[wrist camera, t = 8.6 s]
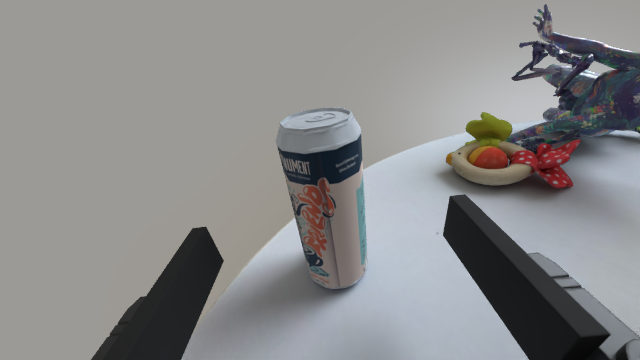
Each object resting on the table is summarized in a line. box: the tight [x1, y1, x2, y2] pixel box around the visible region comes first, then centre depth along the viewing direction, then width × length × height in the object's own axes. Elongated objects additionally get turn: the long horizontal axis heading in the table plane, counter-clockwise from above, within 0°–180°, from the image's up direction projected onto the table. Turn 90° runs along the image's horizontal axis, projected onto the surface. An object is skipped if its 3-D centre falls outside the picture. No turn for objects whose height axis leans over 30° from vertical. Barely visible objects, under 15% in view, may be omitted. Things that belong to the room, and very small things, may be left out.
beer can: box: [276, 108, 368, 289], centre depth 15 cm, size 5×5×12 cm
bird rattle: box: [446, 112, 581, 188], centre depth 25 cm, size 6×11×9 cm
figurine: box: [505, 4, 640, 151], centre depth 24 cm, size 20×18×18 cm
